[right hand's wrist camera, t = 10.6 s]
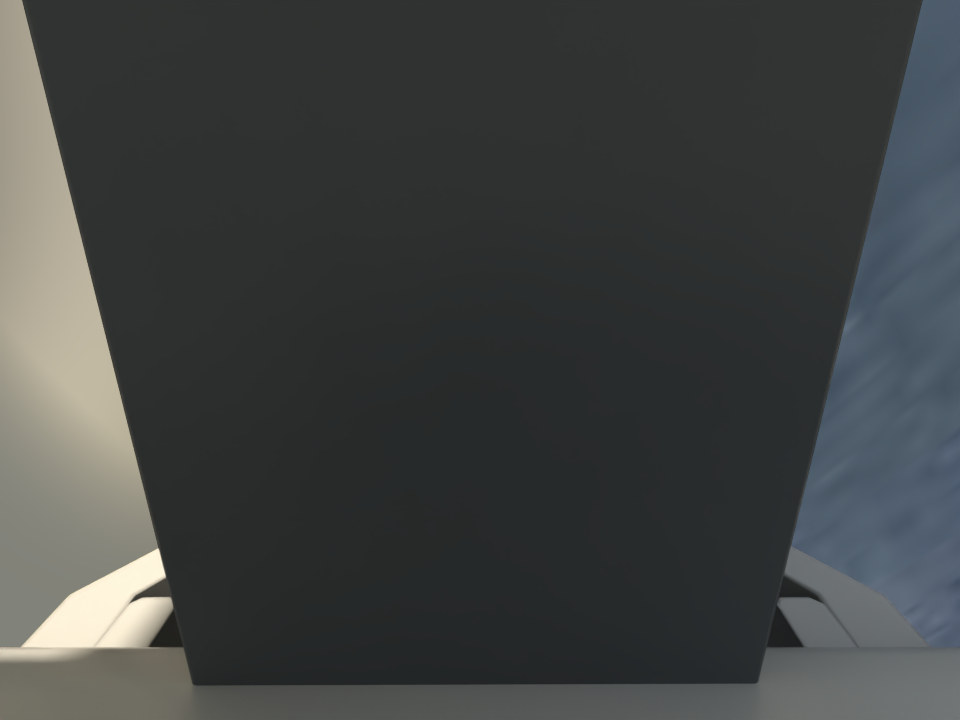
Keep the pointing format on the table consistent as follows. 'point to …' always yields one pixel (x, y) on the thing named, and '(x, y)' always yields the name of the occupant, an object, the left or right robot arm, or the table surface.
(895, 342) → the table surface
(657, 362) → the bar
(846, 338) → the table surface
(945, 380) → the table surface
